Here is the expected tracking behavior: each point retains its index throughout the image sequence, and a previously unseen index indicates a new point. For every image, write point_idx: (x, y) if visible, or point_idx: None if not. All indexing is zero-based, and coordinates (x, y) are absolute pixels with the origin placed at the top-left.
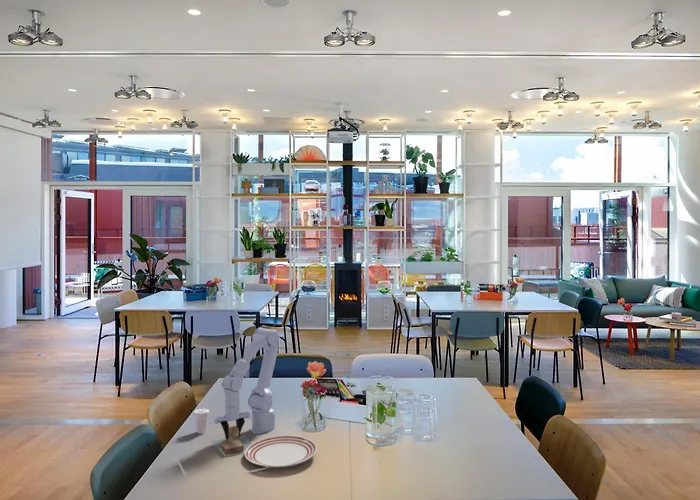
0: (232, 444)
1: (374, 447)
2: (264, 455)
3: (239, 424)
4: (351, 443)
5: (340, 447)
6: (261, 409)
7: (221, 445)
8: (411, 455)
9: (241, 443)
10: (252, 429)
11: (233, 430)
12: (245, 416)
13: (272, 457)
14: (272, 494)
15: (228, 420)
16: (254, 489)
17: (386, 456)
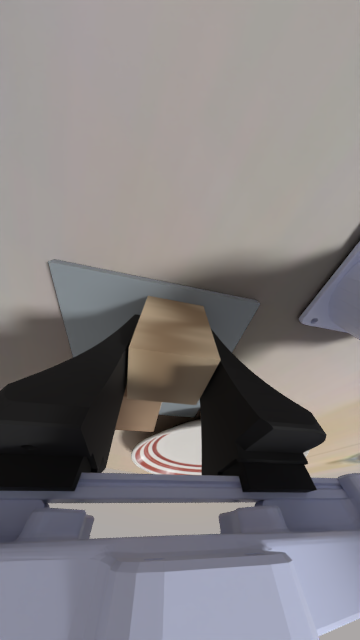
0: (121, 417)
1: (338, 460)
2: (185, 437)
3: (203, 447)
4: (343, 448)
5: (316, 449)
6: None
7: None
8: (327, 474)
9: (154, 422)
10: (350, 280)
11: (160, 396)
12: (321, 509)
13: (193, 444)
14: (133, 472)
15: (105, 489)
16: (117, 465)
17: (310, 470)
